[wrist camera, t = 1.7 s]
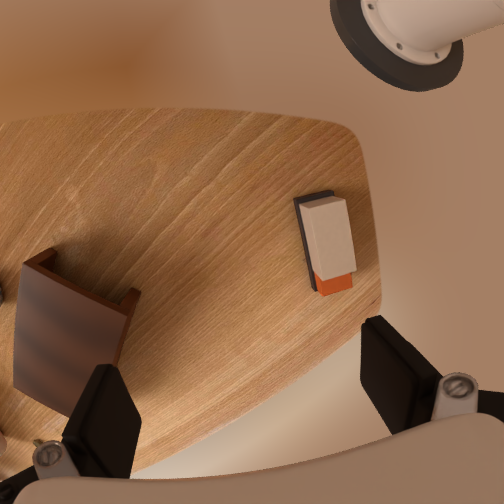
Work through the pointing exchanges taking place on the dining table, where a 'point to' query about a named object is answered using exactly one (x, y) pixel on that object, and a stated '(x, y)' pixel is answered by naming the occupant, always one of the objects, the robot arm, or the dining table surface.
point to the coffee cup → (2, 444)
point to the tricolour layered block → (326, 241)
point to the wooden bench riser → (63, 334)
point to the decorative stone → (0, 296)
